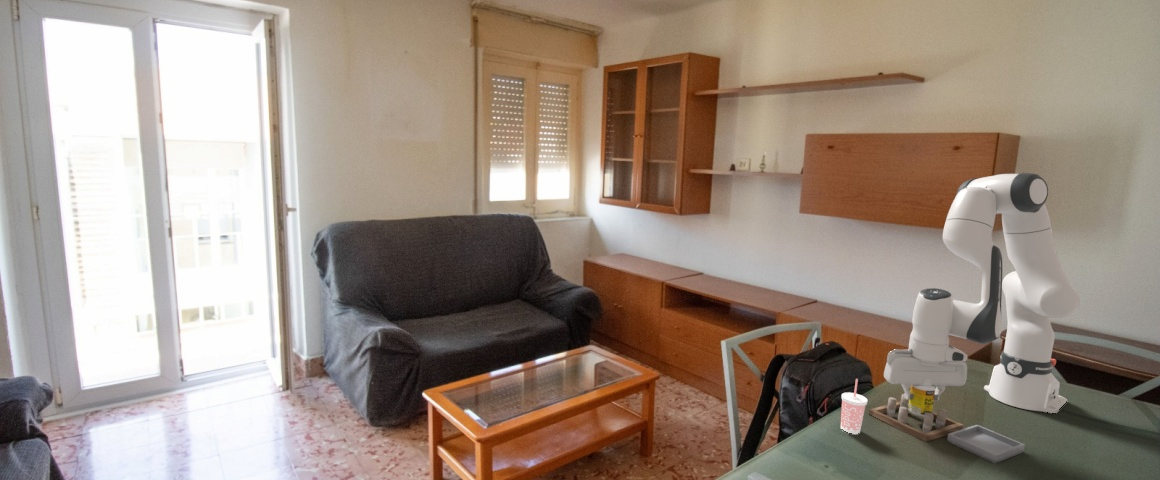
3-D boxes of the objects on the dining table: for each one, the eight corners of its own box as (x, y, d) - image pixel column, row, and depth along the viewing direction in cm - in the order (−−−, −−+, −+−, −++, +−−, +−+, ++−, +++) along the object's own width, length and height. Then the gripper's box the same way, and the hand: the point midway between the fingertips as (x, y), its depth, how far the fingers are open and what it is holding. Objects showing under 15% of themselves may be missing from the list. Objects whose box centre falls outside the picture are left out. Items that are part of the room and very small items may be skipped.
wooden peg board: (904, 404, 164) (906, 388, 163) (962, 429, 150) (965, 412, 149) (868, 414, 156) (870, 397, 155) (926, 441, 142) (929, 423, 141)
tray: (975, 431, 149) (976, 424, 149) (1023, 452, 139) (1024, 444, 139) (947, 441, 143) (948, 433, 143) (994, 463, 133) (996, 455, 133)
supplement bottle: (923, 419, 148) (928, 382, 147) (903, 410, 153) (907, 374, 151) (936, 415, 151) (941, 379, 149) (915, 406, 156) (920, 371, 154)
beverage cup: (832, 426, 148) (838, 375, 146) (849, 422, 151) (855, 373, 148) (851, 437, 143) (858, 385, 140) (868, 433, 145) (875, 382, 143)
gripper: (895, 353, 146) (888, 403, 148) (974, 355, 146) (966, 405, 148) (882, 344, 152) (876, 393, 155) (958, 347, 152) (951, 395, 154)
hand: (921, 399), depth 151 cm, fingers closed on supplement bottle, 5 cm apart
